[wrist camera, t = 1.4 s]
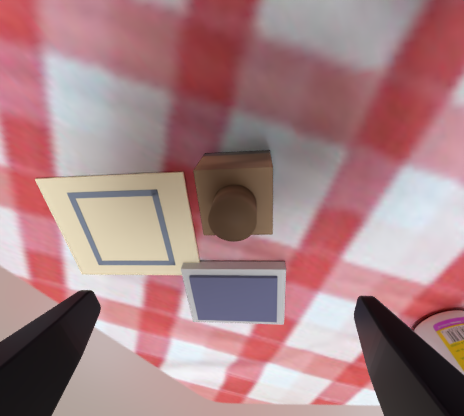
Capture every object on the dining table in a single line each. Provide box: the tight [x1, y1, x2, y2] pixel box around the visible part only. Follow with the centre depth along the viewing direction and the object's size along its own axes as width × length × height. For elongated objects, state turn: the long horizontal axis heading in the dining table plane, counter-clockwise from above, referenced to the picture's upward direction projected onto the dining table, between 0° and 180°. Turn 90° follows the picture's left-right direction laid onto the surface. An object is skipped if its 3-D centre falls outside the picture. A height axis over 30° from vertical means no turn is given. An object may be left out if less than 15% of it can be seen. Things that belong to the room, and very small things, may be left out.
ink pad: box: [181, 261, 286, 324], centre depth 22 cm, size 9×7×1 cm
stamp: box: [193, 150, 273, 241], centre depth 15 cm, size 4×4×6 cm
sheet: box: [35, 172, 200, 275], centre depth 20 cm, size 12×10×1 cm
